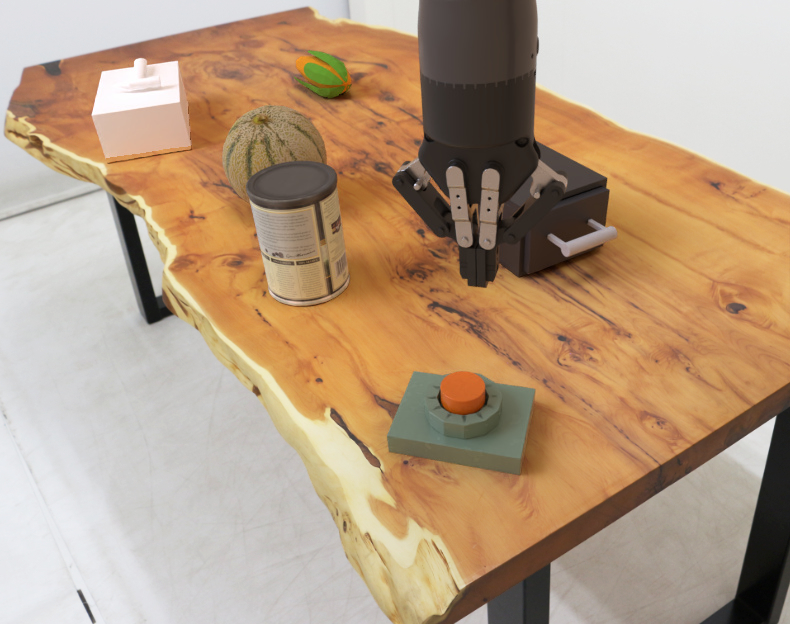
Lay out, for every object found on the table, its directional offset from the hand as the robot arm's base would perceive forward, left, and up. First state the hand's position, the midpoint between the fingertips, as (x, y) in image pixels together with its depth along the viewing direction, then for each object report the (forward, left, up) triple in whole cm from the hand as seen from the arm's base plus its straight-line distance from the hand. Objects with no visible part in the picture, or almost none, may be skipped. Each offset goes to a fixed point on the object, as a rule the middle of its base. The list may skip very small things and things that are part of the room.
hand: (479, 281), depth 56 cm
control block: (+2, 0, -17) cm, 17 cm away
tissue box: (+75, -62, -17) cm, 99 cm away
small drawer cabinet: (+2, -36, -17) cm, 40 cm away
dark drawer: (-1, -34, -16) cm, 37 cm away
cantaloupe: (+38, -39, -17) cm, 57 cm away
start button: (+2, 0, -13) cm, 13 cm away
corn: (+51, -87, -17) cm, 102 cm away
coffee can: (+26, -20, -17) cm, 37 cm away
